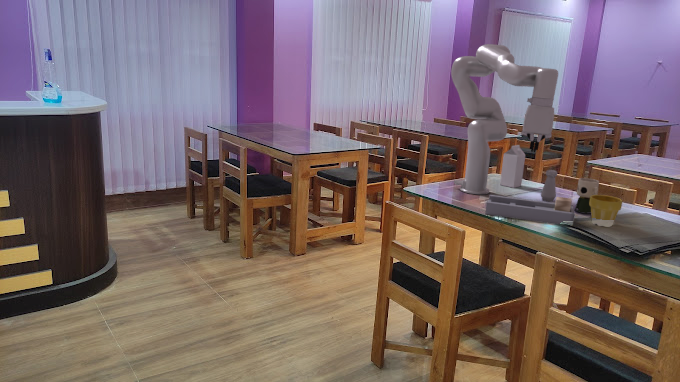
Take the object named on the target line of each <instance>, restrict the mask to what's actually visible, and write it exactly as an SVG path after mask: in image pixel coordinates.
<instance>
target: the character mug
mask: <svg viewBox="0 0 680 382" xmlns="http://www.w3.org/2000/svg"><path fill="white" fill-rule="evenodd" d="M599 185H600V180H597V179H594V178H587V177H580V178H579V179H578V183H577V187H576V188H577V189H576V195H577V196H578V199H577V202H576V205H575V208H574V211H577V213H582V214H589V213H591V206H590V205H589V201H590V196H592V195H599V194H598V193H599Z"/></svg>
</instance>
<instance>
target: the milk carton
mask: <svg viewBox="0 0 680 382" xmlns="http://www.w3.org/2000/svg"><path fill="white" fill-rule="evenodd" d="M520 145H521V144H516V145H511V148H510V149H508V150H507V151H506V152H504V153H503V156H502V157H503V158H502V165H501V166H502V167H501V173H500V181H499V185H500V186H504V187H507V188H508V187H509V188H513V189H515V188H518V187H521V186H522V182H523V176H524V167H525V160H526V154H525V152H524V151H523V150H522V148H521V146H520Z"/></svg>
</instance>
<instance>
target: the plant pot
mask: <svg viewBox="0 0 680 382" xmlns="http://www.w3.org/2000/svg"><path fill="white" fill-rule="evenodd" d="M589 205H590V206H591V215H590V216H591V219H592V218H596V219H602V220H616V218H617V215H618V213H619V211H621V210H622V206H623V200H622V199H621V198H619V197H616V196H612V195H611V196H610V195H606V194H605V195H604V194H597V195H592V196H590V201H589Z"/></svg>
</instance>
